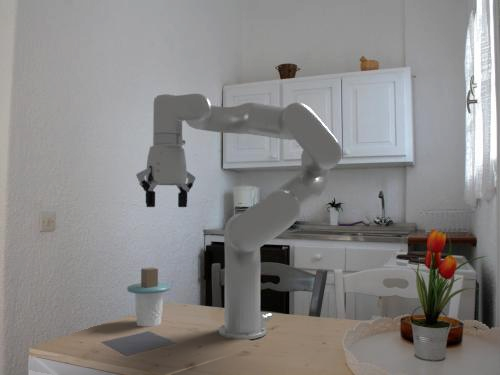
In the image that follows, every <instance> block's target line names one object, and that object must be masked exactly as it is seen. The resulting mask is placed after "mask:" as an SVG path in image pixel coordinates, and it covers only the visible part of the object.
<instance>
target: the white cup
mask: <svg viewBox="0 0 500 375" xmlns="http://www.w3.org/2000/svg"><path fill="white" fill-rule="evenodd" d="M134 296H135V297H134V300H135V301H134V302H135V303H134V305H135V318H136V325H137V326H138V327H146V328H147V327H155V326H158V325H160V324H162V315H163V302H164V292H160V293H150V294H139V293H134Z"/></svg>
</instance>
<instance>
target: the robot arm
mask: <svg viewBox="0 0 500 375" xmlns="http://www.w3.org/2000/svg"><path fill="white" fill-rule="evenodd" d="M152 120H153V122H152V123H153V125H152V126H153V130H152V131H153V134H152V136H153V137H152V138H153V139H152V140H153V141H152V142H153V143H152V146H150V147H149V151H148V155H147V159H146V169H144V170H142V171H139V172H138V173H137V172H136V178H137V180H138V182H139V185H140V187H142V189H143V191H144V192H145V204H146V206H145V207H146V208H155V207H156V192H155V191H154V190H155V188H156V187H157V186H176V188H177V189H178V190H179V192H178V193H177V195H178V196H177V198H178V199H177V200H178V201H177V205H178V208H187V207H188V193H189V192H190V190H191V189H192V188H193V186H194V182H195V180H196V176H194V175H193V174H191V173H190V172H189V171H188V170H187V159H186V153H185V148H183V146H185V144H186V140H185V139H183V121H185V123H186V124H187V125H188V126H189V127H191V128H193V129H196V130H201V131H205V132H207V131H208V132H212V133H213V132H214V133H225V134H226V133H227V134H237V135H238V134H239V135H246V134H247V135H253V136H260V137H268V138H273V139H282V140H288V141H293V140H295V142H296V143H297V144H298V145H299V146H300V147H301V149H302V152H301V154H300V155H301V156H300V160H301V162H300V163H301V165H300V169H299V172H298V173H297V174H296V175H294V176H293V177H292V178H290V179H289V180H287V181H286V182H285V183H283V184H281V185H280V186H279V187H277V188H275V189H274V190H272V191H270V192H268V193H266V194H265V195H264V196H263V197H262V198H261V200H259V201H258V202H256V203H255V204H253V205H252V206H250V207H249V208H248V209H245V210H244V211H243V212H240V213H235V214H234V215H232V216H231V217H230V218H229V219H228V220H227V222H226V224H225V227H224V233H223V238H224V243H223V244H224V324H223V325H221V326H219V328H218V334H219V335H220V336H223V337H225V338H228V339H229V338H230V339H237V340H254V339H255V340H256V339H260V338H262V337H263V336H266V334H267V327H266V326H265V325H264V324H265V322H269V321H272V320H273V314H272V313H271V312H268V313H264V314H263V313H261V247H263V246H264V245H266V244H267V243H269V242H270V241H272V240H273V239H274V238H276V237H277V236H279V235H281V233H283V232H284V231H286V230H287V229H289V228H291V226H293V225H294V224H295V222H296V221H297V220H298V219H299V217H300V214H301V211H302V210H304V209H305V208H306V207H307V206H309V205H310V204H311V203H312V202H315V200H316V199H318V198H319V197H320V196H321V195H322V194H323V192H324V190H325V189H326V186H327V184H328V180H329V175H330V174H329V173H330V172H329V171H330V169H333V168H334V167H336V166H337V165H338V164H339V162H340V161H341V159H342V157H343V156H342V155H343V154H342V153H343V151H342V147H341V144H340V142H339V141H338V140H337V137H336V136H334V135H333V133H332V132H331V131H330V130H329V128H328V127H327V125H325V124H324V122H323V121H322V120H321V119H320V118H319V117H318V115H317V114H316V113H315V112H314V111H313V109H311V108H310V107H309V106H307V105H306V104H304V103H302V102H292V103H290V104H288V105H287V106H286V107H282V106H275V105H269V104H264V103H256V102H245V103H241V104H240V105H236V106H217V105H212V104H211V102H210V100H209V99H208V97H207V96H205V95H204V94H201V93H187V94H180V95H178V94H177V95H174V94H166V93H164V94H159V95H157V96H156V97H154V100H153V119H152ZM186 182H187V183H186Z"/></svg>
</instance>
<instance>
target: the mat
mask: <svg viewBox="0 0 500 375" xmlns="http://www.w3.org/2000/svg"><path fill="white" fill-rule="evenodd" d="M101 343H102V344H104V345H105V346H107V347H110V348H111V349H113V350H115V351H117V352H118V353H120V354H122V355H124V356H126V357H129V356H132V355H137V354H139V353H140V354H141V353H144V352H147V351H148V352H149V351H152V350H155V349H159V348H162V347H166V346H170V345H174V344H177V342H176V341H174V340H171V339H168V338H167V337H164V336H161V335H159V334H157V333H154V332H151V331H150V330H148V331H143V332H140V333H134V334H132V335H131V334H130V335H126V336H121V337H116V338H113V339H108V340H104V341H103V340H102V341H101Z"/></svg>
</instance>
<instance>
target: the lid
mask: <svg viewBox="0 0 500 375" xmlns="http://www.w3.org/2000/svg"><path fill="white" fill-rule="evenodd" d="M158 279H159V268H157V267H146V268H141V269H140V283H135V284H134V283H133V284H131V285H128V286H127V288H126V289H127V292H128V293H131V294H135V293H139V294H150V293H160V292H163V293H165V292H168V291H171V289H172V286H171V284H169V283H165V282H159V280H158Z"/></svg>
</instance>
